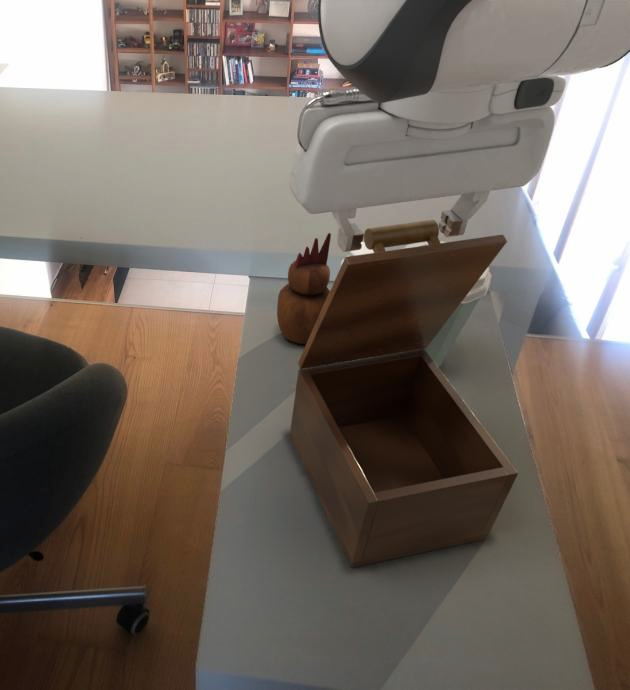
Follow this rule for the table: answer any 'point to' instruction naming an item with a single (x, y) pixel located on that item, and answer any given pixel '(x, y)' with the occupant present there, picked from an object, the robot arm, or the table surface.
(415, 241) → the lid
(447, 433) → the chest
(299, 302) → the wooden figurine
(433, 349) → the disposable coffee cup
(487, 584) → the table surface
